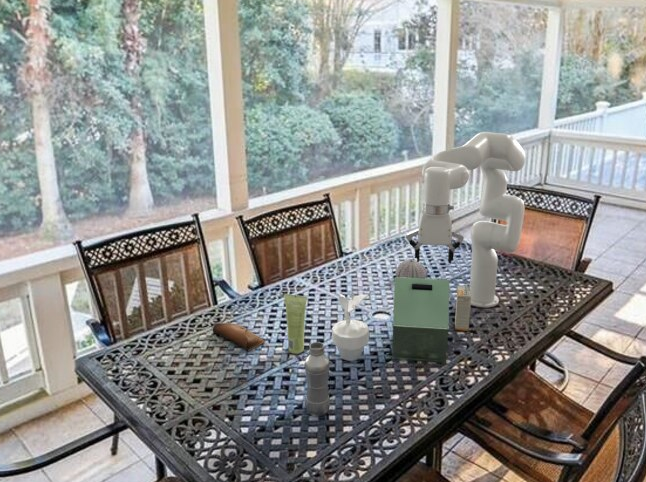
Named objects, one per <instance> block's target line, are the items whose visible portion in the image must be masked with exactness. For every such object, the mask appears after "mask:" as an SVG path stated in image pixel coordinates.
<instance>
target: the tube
mask: <svg viewBox="0 0 646 482" xmlns="http://www.w3.org/2000/svg"><path fill="white" fill-rule="evenodd" d="M283 297H284V305H285V313H286V325H287V344H288V346H287V347H288V352H289V353H291V354H296V355H297V354H301V353H303V352H304V350H305V324H306V323H305V321H306V307H307V300H308V297H307V296H305V295H303V296H302V295H297V294H290V293H284V294H283Z"/></svg>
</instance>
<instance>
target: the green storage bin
mask: <svg viewBox="0 0 646 482" xmlns="http://www.w3.org/2000/svg"><path fill="white" fill-rule="evenodd" d="M448 340H449V327H448V328H438V327H422V326H405V325H393V324H392V353H391V355H392V356H391V360H393V361H404V362H405V361H406V362H421V363H433V364H447V360H448V359H447V357H448V342H449V341H448Z"/></svg>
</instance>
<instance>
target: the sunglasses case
mask: <svg viewBox="0 0 646 482" xmlns="http://www.w3.org/2000/svg"><path fill="white" fill-rule="evenodd" d="M212 333H213V334H216V335H218V336H220V337H223V338H225V339H227V340H229V341H231V342H233V343H234V344H236V345H238V346H239V347H242V348H243V349H245V350H247V351H248V352H250V351H253V350H255V349H256V348H258V347H260V346H261V345H262V344H264V343H265V339H263V338H262V337H261V336H259V335H258V334H256V333H254V332H252V331H250V330H248V329H247V327H245V326H242V325H239V324H236V323H225V322H220V323H219V322H218V323H215V324H214V325H213V327H212Z"/></svg>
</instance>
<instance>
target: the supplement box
mask: <svg viewBox="0 0 646 482" xmlns="http://www.w3.org/2000/svg"><path fill="white" fill-rule="evenodd" d="M456 287H457V288H456V299H455V300H456V301H455V315H454V330H457V331H464V332H466V331H467V332H469V329H470V320H471V319H470V318H471V306H472V305H471V287H470V286H467V285H466V286H465V285H457V286H456Z"/></svg>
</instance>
